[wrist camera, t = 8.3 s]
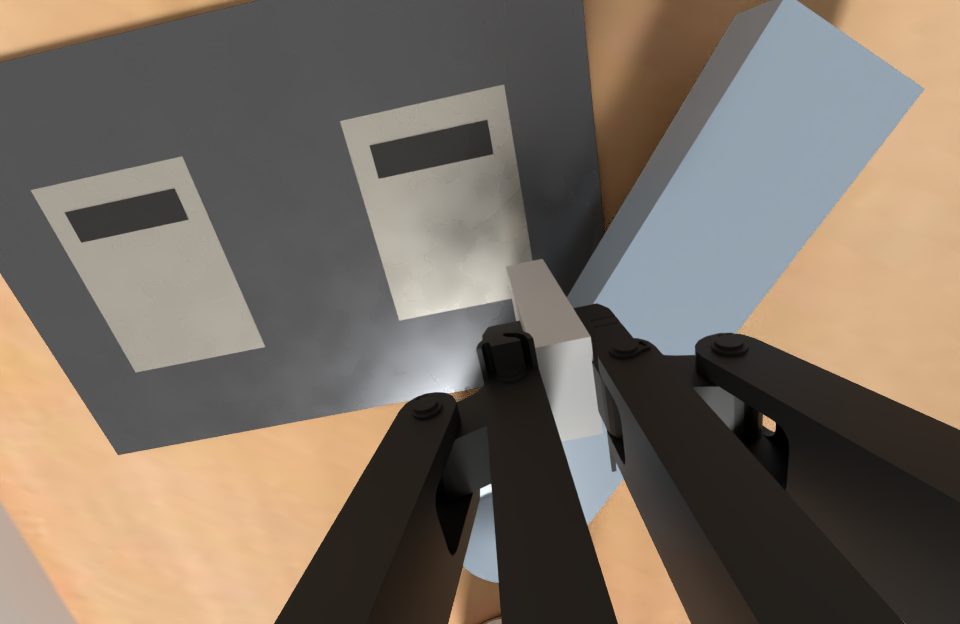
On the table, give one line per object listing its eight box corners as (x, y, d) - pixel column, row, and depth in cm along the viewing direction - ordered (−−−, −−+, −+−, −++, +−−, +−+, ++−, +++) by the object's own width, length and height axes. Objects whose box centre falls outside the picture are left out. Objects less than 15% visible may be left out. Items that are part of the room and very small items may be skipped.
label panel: (573, -74, 14) (575, -77, 14) (615, 359, 20) (616, 362, 20) (-111, 91, 16) (-120, 90, 15) (121, 452, 22) (117, 455, 21)
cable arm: (851, 94, 15) (931, 88, 12) (529, 542, 22) (536, 596, 20) (732, 16, 14) (792, -9, 11) (437, 510, 21) (433, 563, 19)
